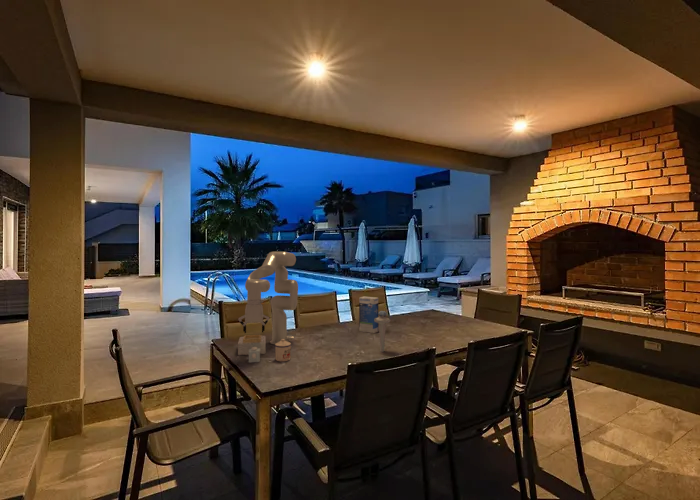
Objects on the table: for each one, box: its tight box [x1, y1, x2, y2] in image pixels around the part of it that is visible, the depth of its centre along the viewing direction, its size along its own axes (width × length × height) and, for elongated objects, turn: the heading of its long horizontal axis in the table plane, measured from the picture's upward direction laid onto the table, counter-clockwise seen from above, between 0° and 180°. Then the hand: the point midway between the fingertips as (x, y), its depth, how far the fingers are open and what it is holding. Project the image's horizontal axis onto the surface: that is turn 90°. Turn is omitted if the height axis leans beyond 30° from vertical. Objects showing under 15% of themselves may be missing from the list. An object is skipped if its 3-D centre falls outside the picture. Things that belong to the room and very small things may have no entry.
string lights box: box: [358, 295, 379, 334], centre depth 288 cm, size 13×8×26 cm, turn 58°
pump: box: [248, 347, 261, 363], centre depth 217 cm, size 6×8×8 cm
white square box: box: [237, 334, 267, 356], centre depth 237 cm, size 16×16×8 cm
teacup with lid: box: [274, 339, 292, 363], centre depth 221 cm, size 12×9×12 cm
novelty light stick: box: [374, 310, 391, 353], centre depth 236 cm, size 10×10×25 cm
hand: (254, 332), depth 217 cm, fingers open, 9 cm apart
